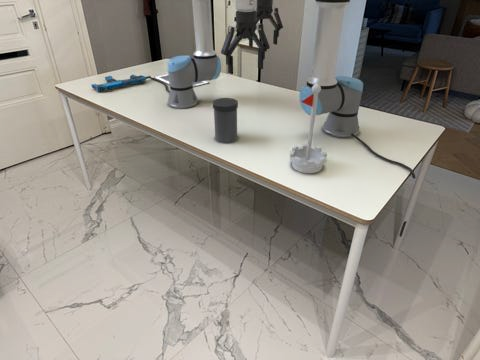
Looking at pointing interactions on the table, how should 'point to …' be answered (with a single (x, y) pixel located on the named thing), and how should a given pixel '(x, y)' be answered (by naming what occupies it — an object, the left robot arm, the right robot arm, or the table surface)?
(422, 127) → the table surface
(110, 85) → the submachine gun
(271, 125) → the table surface
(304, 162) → the flag stand
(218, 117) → the jar
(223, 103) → the lid
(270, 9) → the right robot arm
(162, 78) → the tablet
